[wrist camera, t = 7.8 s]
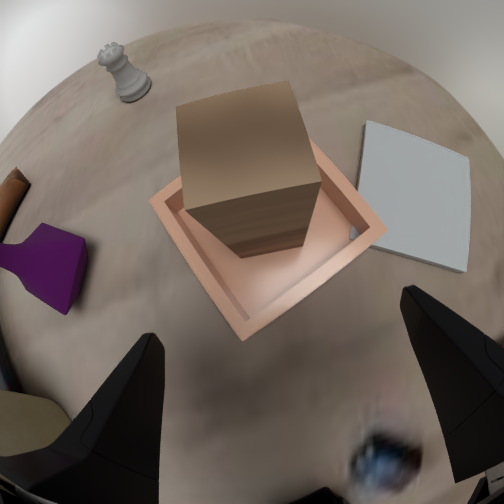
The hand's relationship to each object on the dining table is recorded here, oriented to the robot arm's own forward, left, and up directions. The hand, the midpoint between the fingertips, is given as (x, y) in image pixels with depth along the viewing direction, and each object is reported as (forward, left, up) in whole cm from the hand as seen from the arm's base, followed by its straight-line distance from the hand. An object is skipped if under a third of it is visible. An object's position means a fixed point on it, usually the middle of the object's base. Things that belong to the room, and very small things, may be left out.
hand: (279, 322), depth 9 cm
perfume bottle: (-16, +15, -14) cm, 26 cm away
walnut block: (+3, +6, -13) cm, 14 cm away
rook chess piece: (+1, +30, -14) cm, 33 cm away
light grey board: (+16, 0, -13) cm, 21 cm away
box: (+3, +6, -13) cm, 15 cm away
